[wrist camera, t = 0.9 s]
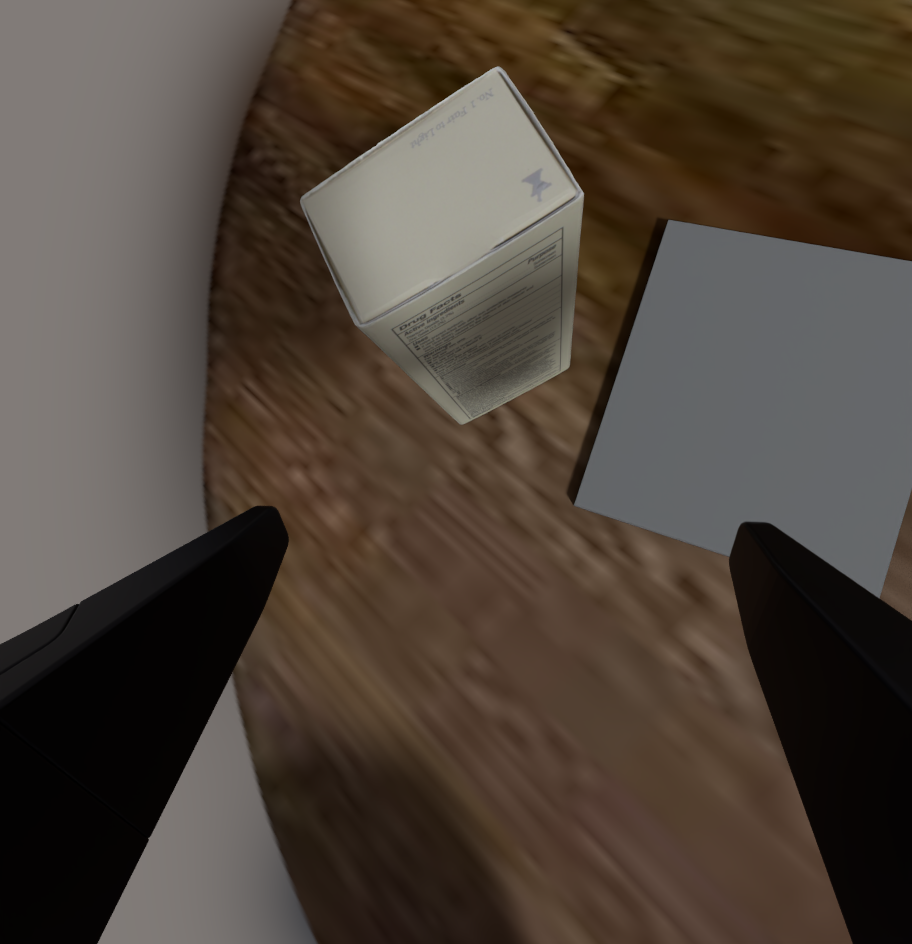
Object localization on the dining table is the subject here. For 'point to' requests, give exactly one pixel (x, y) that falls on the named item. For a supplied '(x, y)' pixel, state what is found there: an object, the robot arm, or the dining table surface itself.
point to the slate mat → (763, 399)
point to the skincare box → (459, 247)
